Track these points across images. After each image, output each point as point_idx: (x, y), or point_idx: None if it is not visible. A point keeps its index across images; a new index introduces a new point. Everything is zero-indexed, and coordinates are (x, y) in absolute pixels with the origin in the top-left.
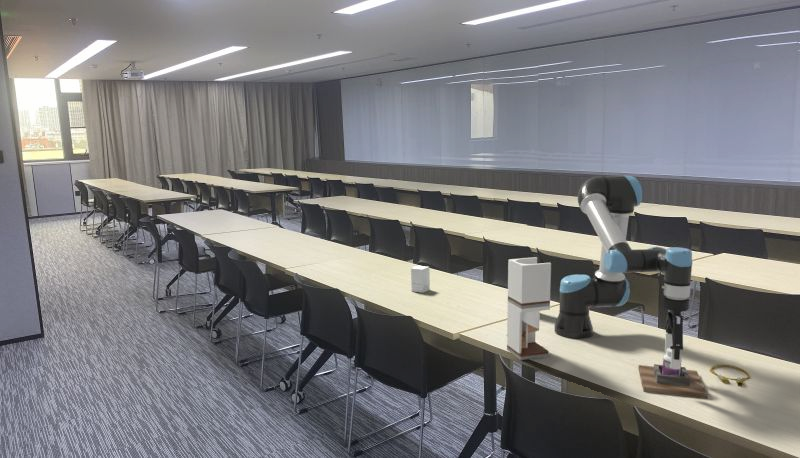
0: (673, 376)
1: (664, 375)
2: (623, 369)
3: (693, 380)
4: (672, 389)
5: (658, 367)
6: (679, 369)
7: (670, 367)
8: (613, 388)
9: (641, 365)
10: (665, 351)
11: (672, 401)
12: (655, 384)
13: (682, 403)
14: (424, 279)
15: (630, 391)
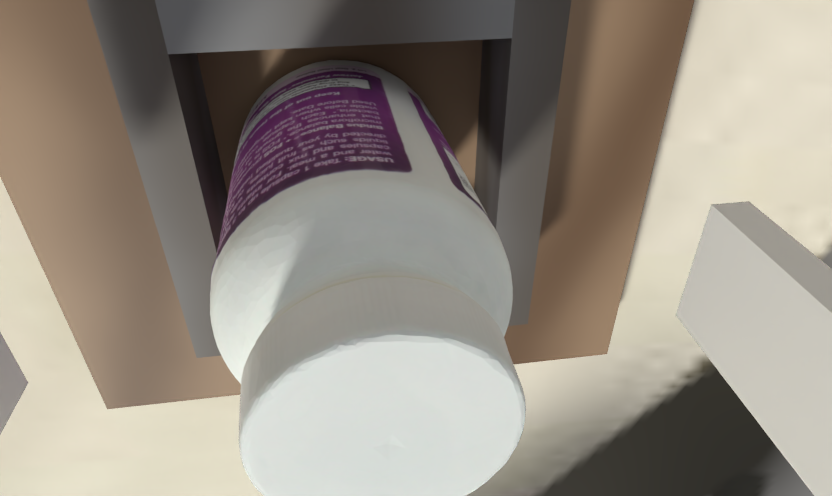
0: (528, 181)
1: (518, 267)
2: (193, 454)
3: None
4: (643, 153)
5: None
6: (429, 135)
7: (683, 316)
8: (566, 462)
9: (105, 390)
10: (16, 395)
11: (771, 139)
12: (545, 283)
13: (818, 58)
14: None
15: (601, 390)
